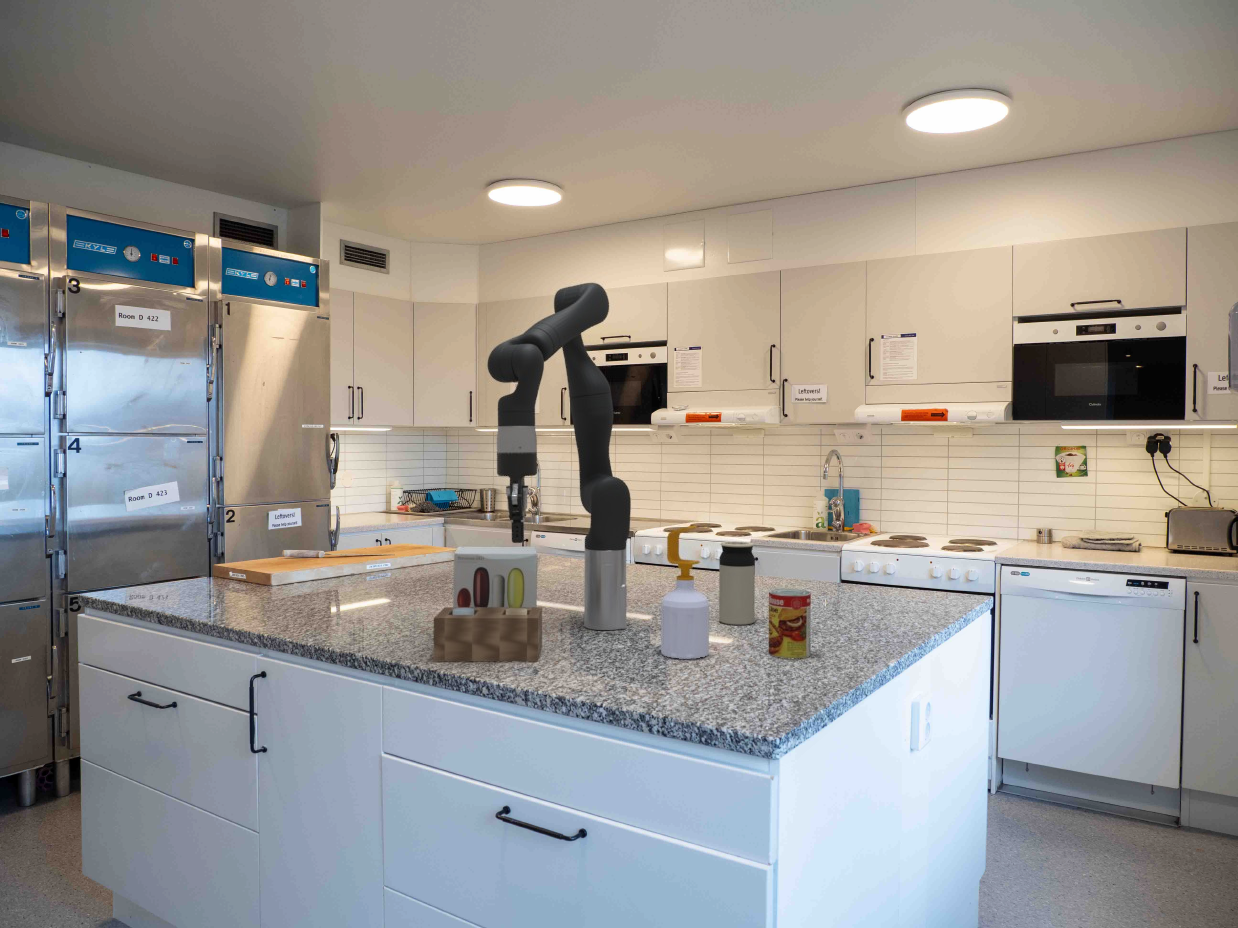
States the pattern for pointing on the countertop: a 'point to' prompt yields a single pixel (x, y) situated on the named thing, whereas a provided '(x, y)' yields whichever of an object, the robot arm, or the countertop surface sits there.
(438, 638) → the walnut block
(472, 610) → the blue-grey peg
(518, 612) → the birch peg
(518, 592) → the supplement box
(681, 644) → the soap bottle
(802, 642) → the canned food
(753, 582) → the travel mug
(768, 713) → the countertop surface
